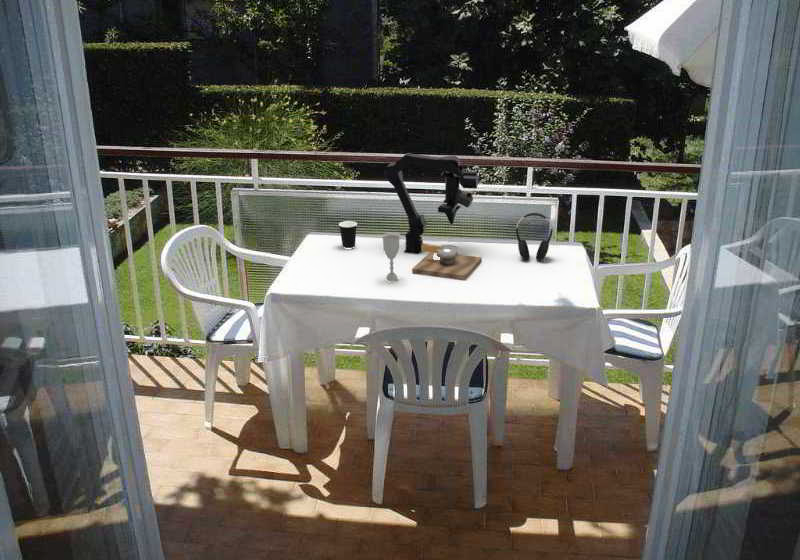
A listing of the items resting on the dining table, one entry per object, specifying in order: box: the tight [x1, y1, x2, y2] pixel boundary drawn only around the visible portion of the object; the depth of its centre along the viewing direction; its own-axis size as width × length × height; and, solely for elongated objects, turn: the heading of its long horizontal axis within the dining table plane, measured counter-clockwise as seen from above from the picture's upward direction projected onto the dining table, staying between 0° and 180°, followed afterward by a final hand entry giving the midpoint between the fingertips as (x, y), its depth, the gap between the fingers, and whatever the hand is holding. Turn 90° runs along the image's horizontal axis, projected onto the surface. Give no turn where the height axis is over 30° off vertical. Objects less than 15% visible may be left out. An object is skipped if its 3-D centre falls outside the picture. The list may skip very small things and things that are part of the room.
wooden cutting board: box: [411, 252, 483, 281], centre depth 311 cm, size 22×22×5 cm
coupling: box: [421, 243, 459, 259], centre depth 311 cm, size 15×8×3 cm, turn 66°
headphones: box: [515, 212, 554, 261], centre depth 316 cm, size 9×15×20 cm, turn 80°
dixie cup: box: [338, 220, 358, 248], centre depth 334 cm, size 8×8×11 cm
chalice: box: [381, 232, 401, 282], centre depth 297 cm, size 7×7×18 cm
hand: (451, 223), depth 323 cm, fingers closed
